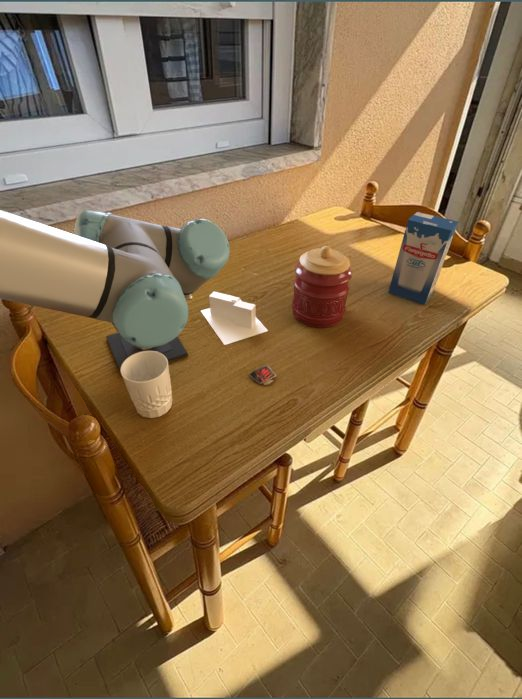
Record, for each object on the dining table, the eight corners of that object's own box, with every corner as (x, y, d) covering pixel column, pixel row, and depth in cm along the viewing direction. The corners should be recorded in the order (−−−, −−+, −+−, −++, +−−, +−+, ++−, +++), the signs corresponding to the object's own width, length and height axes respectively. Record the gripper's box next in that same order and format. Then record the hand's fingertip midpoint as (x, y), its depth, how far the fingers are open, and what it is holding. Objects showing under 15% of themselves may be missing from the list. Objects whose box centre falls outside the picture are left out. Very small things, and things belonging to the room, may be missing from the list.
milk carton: (387, 292, 102) (407, 219, 89) (396, 282, 106) (416, 211, 93) (425, 305, 97) (451, 230, 84) (432, 294, 101) (459, 221, 88)
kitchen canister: (280, 310, 95) (284, 244, 83) (316, 292, 101) (325, 229, 90) (318, 336, 87) (328, 267, 76) (355, 315, 94) (369, 248, 82)
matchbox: (247, 376, 77) (247, 374, 77) (264, 363, 80) (264, 362, 80) (264, 388, 75) (264, 386, 74) (281, 374, 77) (281, 373, 77)
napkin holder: (199, 310, 94) (197, 291, 90) (240, 299, 98) (239, 279, 95) (224, 345, 84) (223, 325, 81) (269, 330, 89) (269, 310, 85)
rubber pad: (122, 377, 76) (121, 374, 76) (106, 338, 86) (105, 335, 85) (188, 355, 82) (187, 352, 81) (166, 321, 91) (166, 318, 90)
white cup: (144, 428, 67) (133, 389, 60) (125, 401, 72) (112, 363, 65) (183, 406, 71) (176, 368, 64) (163, 383, 75) (154, 344, 69)
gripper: (135, 327, 59) (103, 358, 77) (221, 280, 69) (175, 318, 88) (107, 285, 58) (81, 327, 76) (199, 244, 68) (157, 290, 87)
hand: (132, 322), depth 82 cm, fingers open, 6 cm apart
